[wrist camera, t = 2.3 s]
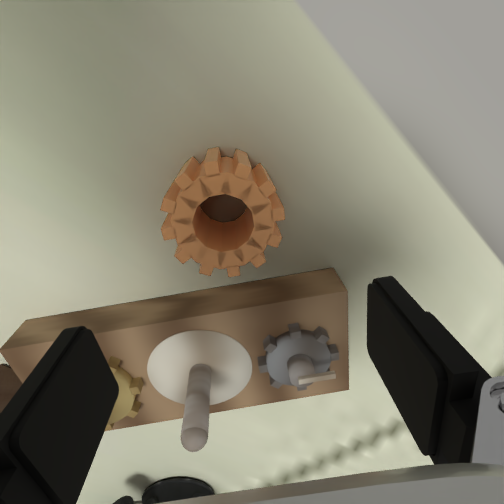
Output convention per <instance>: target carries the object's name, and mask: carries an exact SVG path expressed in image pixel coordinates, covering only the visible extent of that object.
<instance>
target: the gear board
mask: <svg viewBox="0 0 504 504" xmlns="http://www.w3.org/2000/svg"><path fill="white" fill-rule="evenodd" d="M77 326H85V327H86V328H87V329H90V330H91V331H92V332H93V334H94V336H95V338H96V340H97V342H98V344H99V346H100V348H101V350H102V352H103V354H104V356H105V358H106V360H107V363H108V365H109V367H110V369H111V371H112V373H113V375H114V377H115V379H116V381H117V383H118V386H119V395H118V398H117V400H116V403H115V405H114V408H113V410H112V413H111V416H110V418H109V421H108V423H107V426H106V428H105V431H109V430H115V429H121V428H126V427H132V426H138V425H144V424H150V423H156V422H162V421H168V420H174V419H179V418H183V424H182V431H181V442H182V445H183V447H184V448H185V449H186V450H188V451H191V452H196V451H199V450H200V449H202V448H203V447H204V446H205V444H206V442H207V439H208V427H209V413H215V412H221V411H227V410H232V409H238V408H244V407H250V406H256V405H262V404H268V403H274V402H280V401H285V400H291V399H297V398H303V397H309V396H315V395H321V394H327V393H333V392H338V391H344V390H349V359H348V292H347V289H346V287H345V286H344V284H343V283H342V281H341V279H340V278H339V276H338V275H337V273H336V271H335V270H334V268H328V269H322V270H316V271H310V272H305V273H299V274H293V275H287V276H281V277H275V278H270V279H264V280H258V281H252V282H246V283H240V284H235V285H229V286H223V287H217V288H211V289H205V290H199V291H194V292H188V293H182V294H176V295H170V296H164V297H159V298H153V299H147V300H141V301H135V302H129V303H124V304H118V305H112V306H106V307H100V308H94V309H89V310H83V311H77V312H71V313H65V314H59V315H54V316H48V317H42V318H36V319H30V320H25V322H24V323H23V324H22V325H21V326H20V327H19V328H18V329H17V331H16V332H15V333H14V334H13V335H12V336H11V337H10V338H9V339H8V341H7V342H6V343H5V344H4V345H3V346H2V347H1V348H0V353H1V354H2V355H3V357H4V358H5V360H6V361H7V362H8V364H9V365H10V367H11V368H12V369H13V371H14V372H15V374H16V375H17V376H18V378H19V379H20V381H21V382H22V383H24V381H25V380H26V379H27V377H28V376H29V375H30V373H31V372H32V371H33V369H34V368H35V367H36V365H37V364H38V363H39V361H40V360H41V359H42V357H43V356H44V354H45V353H46V352H47V350H48V349H49V348H50V346H51V345H52V344H53V342H54V341H55V340H56V338H57V337H58V336H59V334H60V333H61V332H62V331H63V330H64V329H66V328H71V327H77Z"/></svg>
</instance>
